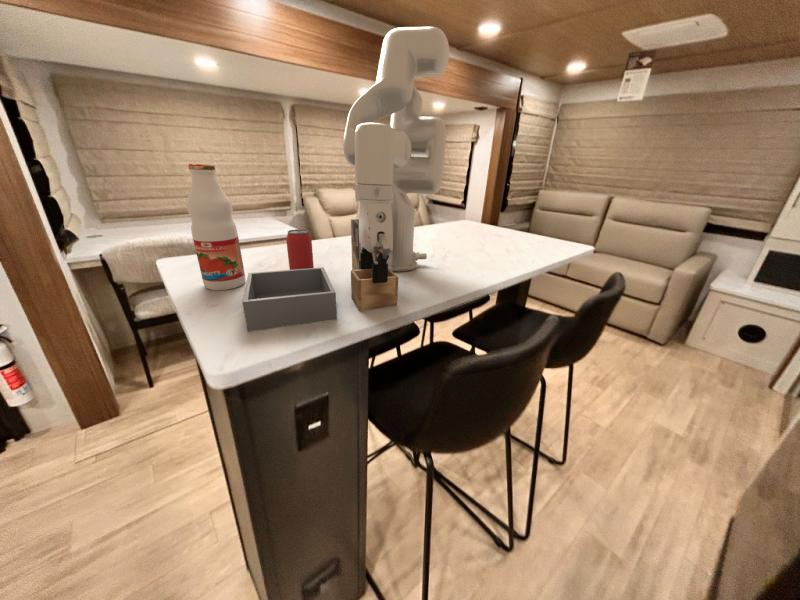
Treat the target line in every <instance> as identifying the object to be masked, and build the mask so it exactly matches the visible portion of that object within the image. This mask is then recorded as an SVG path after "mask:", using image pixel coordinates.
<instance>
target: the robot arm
mask: <svg viewBox="0 0 800 600" xmlns="http://www.w3.org/2000/svg"><path fill="white" fill-rule="evenodd" d="M449 61H450V45H449V39H448V38H447V36H446V33H445V32H444V31H443V30H442V29H440V28H439V27H436V26H403V27H396V28H393V29H391V30H389V31H388V32H387V33H386V34H385V37H384V38H383V41H382V45H381V49H380V56H379V60H378V66H377V67H378V68H377V74H376V79H375V83H374V84H373V85H372V86H370V87H369V88H368V89H367V90H366V91H365V92H363V94H362V95H360V97H359V98H357V100H355V102H354V103H353V104H352V106H351V108H350V110H349V112H348V114H347V118H346V123H345V127H344V133H343V140H342V141H343V143H342V147H343V148H342V149H343V155H344V158H345V160H346V161H347V163H348V164H349V165H351V166H354V181H355V182H354V184H355V185H354V187H355V188H354V189H355V190H354V194H355V196H354V197H355V200H354V201H355V202H357V203H358V202H359V206H358V207H359V209H358V211H359V212H358V219H359V242H360V244H361V248H360V251H361V252H363V253H360V268H361V270H362V269H372V282H373V283H385V282H387V281H388V268H389V269H390V270H391V271H393V272H408V271H412V270H415V269H417V266H418V262H417V261H419V260H427V257H428V255H427V253H426V252H421V253H420V252H419V251H418V252H416V251H414V235H415V234H414V233H415V219H416V218H415V217H416V210H415V205H414V204H413V201H412V200H411V199H410V197H409V196H408V194H418V195H419V194H422V195H433V194H437V193H438V192H439V191H440V189H441V186H442V182H443V177H444V176H443V175H444V165H445V153H446V144H447V129H446V124H445V121H444V120H443V118H441V117H439V116H433V115H430V116H429V115H422V110H423V99H422V96H421V94H420V91H419V90H418V89H417V87H416V86H415V85H414V84H415V78H417V77H422V78H423V77H427V78H428V77H430V78H431V77H432V78H433V77H442V76H444V74H445V73H446V70H447V69H448V64H449ZM388 116H390V119H389V120H390V121H389V124H386V123H380V122H376V121H379V120H380V119H384V118H386V117H388ZM411 155H412V156H411ZM413 155H418V156H413ZM421 155H422V156H421ZM377 254H379V255H378V258H377Z"/></svg>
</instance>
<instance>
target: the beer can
mask: <svg viewBox="0 0 800 600" xmlns="http://www.w3.org/2000/svg"><path fill="white" fill-rule="evenodd" d="M285 239H286V240H285V241H286V248H287V249H286V250H287V259H288V267H289V269H288V270H294V269H308V268H315V267H314V266H315V265H314V253H313V243H312V242H313V240H312V237H311V234H310V231H309V230H307V229H302V228H301V229H296V228H295V229H289V230H287V235H286V238H285Z"/></svg>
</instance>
